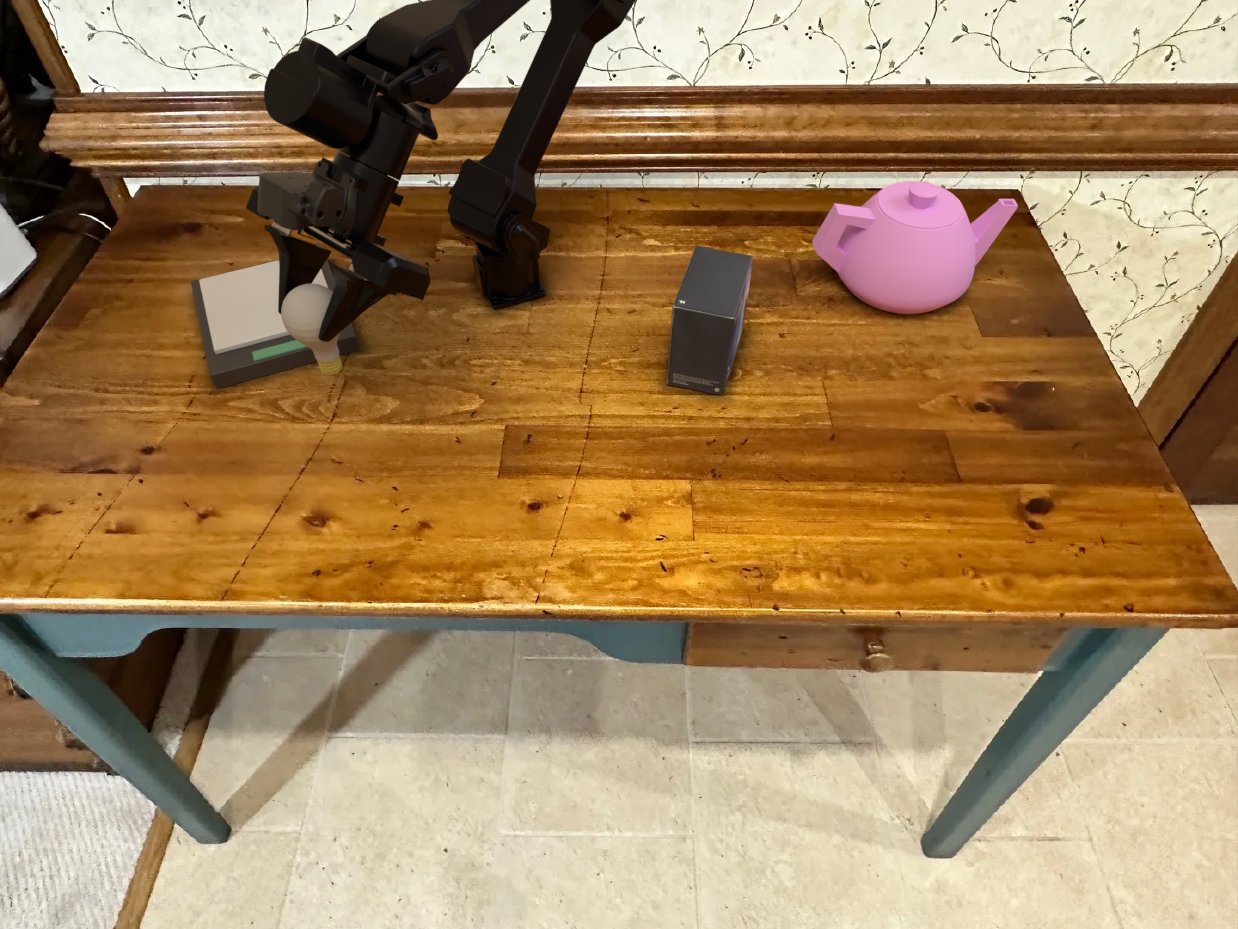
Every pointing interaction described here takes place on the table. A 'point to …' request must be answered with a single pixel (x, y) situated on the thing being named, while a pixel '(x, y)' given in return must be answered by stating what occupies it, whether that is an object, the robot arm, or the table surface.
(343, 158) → the robot arm
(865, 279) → the teapot
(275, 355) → the scale
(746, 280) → the small box
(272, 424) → the table surface
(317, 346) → the light bulb
